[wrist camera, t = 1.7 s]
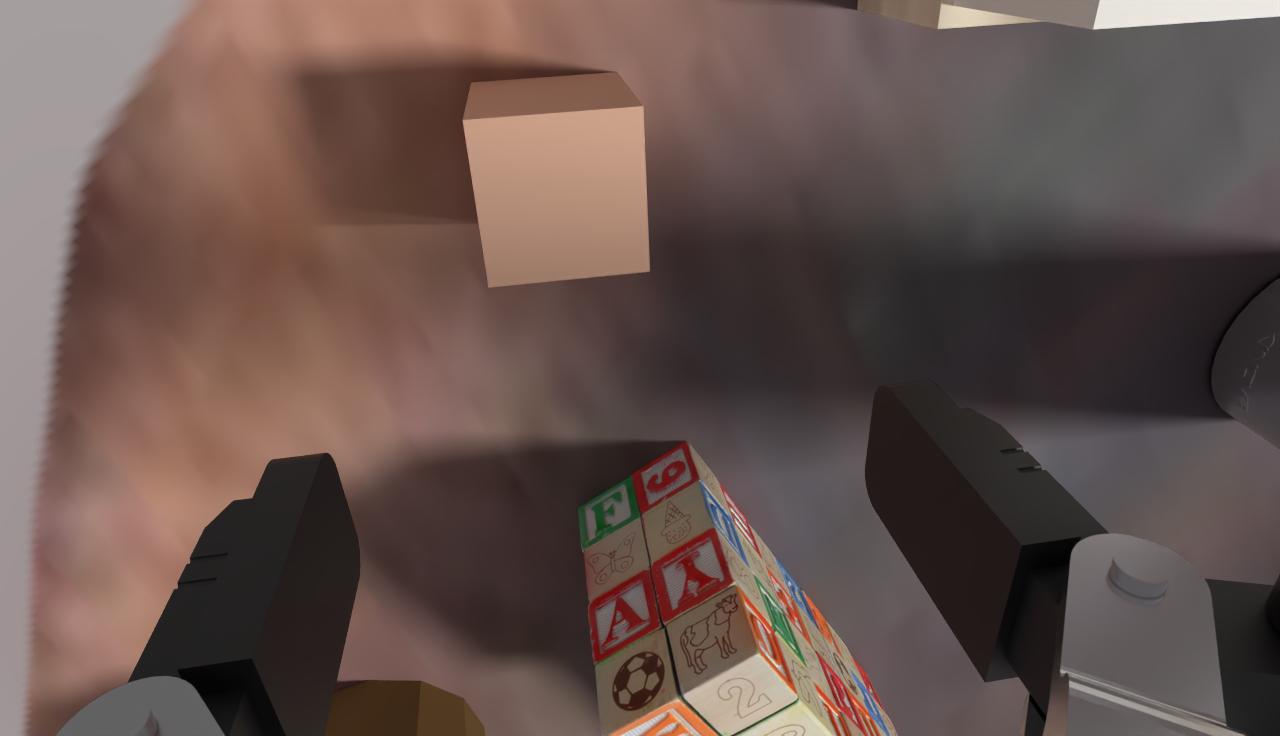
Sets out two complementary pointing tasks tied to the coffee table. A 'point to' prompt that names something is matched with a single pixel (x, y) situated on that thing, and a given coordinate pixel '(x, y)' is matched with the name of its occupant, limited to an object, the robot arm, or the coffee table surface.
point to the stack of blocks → (707, 619)
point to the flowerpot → (400, 711)
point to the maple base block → (936, 13)
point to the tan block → (558, 177)
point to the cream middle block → (1126, 11)
